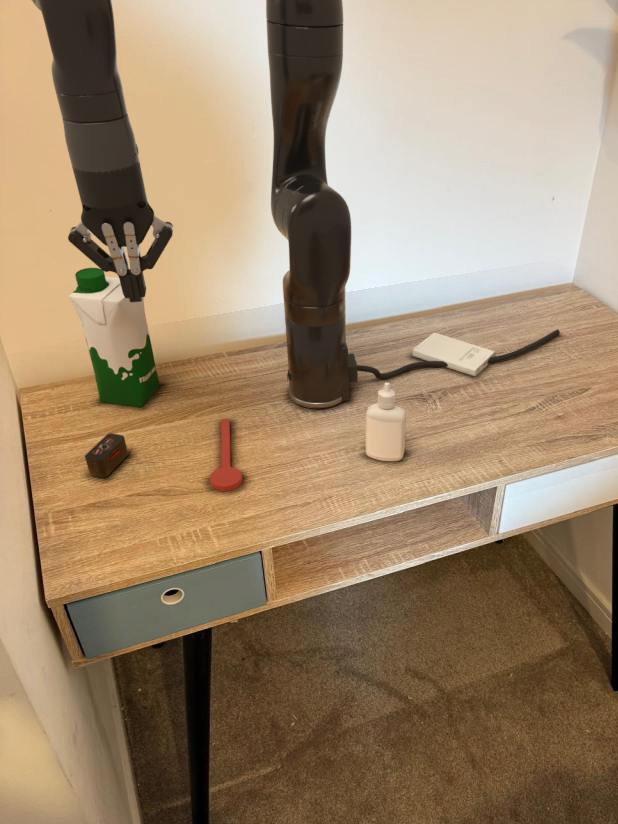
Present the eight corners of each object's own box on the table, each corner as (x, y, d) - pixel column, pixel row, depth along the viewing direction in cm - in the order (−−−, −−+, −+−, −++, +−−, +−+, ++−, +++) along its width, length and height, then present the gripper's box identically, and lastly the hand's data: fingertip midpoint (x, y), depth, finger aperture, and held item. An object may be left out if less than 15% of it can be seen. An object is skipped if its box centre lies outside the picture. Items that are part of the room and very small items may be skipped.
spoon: (240, 422, 114) (239, 417, 114) (242, 489, 102) (242, 484, 101) (211, 424, 114) (210, 419, 113) (210, 492, 101) (209, 487, 101)
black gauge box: (133, 451, 108) (129, 433, 106) (105, 480, 103) (100, 461, 101) (105, 445, 109) (100, 427, 107) (76, 473, 104) (70, 454, 102)
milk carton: (117, 376, 124) (89, 259, 111) (168, 383, 123) (145, 265, 110) (92, 404, 117) (58, 283, 104) (145, 411, 116) (118, 290, 103)
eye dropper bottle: (389, 469, 106) (392, 397, 98) (360, 453, 109) (361, 382, 101) (408, 455, 109) (413, 385, 101) (380, 440, 112) (382, 370, 104)
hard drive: (434, 339, 137) (495, 358, 132) (411, 357, 131) (474, 377, 126) (434, 331, 135) (496, 350, 131) (412, 349, 130) (475, 369, 125)
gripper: (39, 171, 82) (80, 316, 93) (162, 165, 84) (187, 308, 95) (50, 151, 87) (87, 291, 99) (164, 146, 89) (188, 284, 101)
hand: (136, 299), depth 97 cm, fingers closed
